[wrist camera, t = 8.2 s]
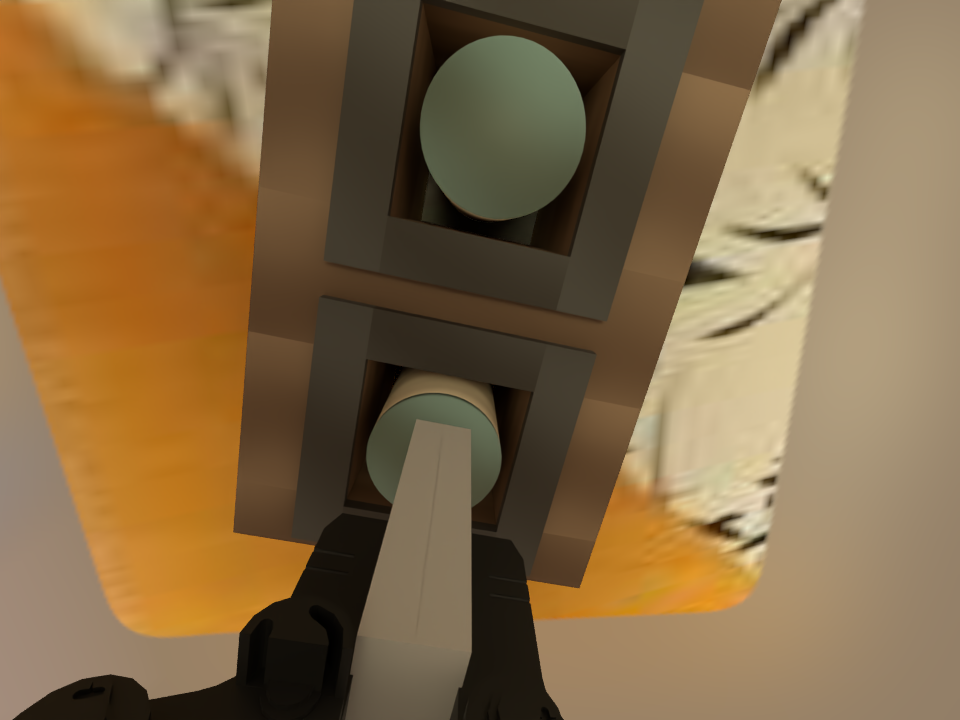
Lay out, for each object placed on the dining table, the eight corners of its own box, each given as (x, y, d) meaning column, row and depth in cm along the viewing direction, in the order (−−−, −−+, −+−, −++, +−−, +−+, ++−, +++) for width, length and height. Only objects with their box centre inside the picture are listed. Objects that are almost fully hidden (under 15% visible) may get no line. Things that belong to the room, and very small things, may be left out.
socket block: (364, 19, 18) (275, -159, 9) (652, 94, 18) (793, -9, 10) (313, 428, 22) (227, 540, 14) (543, 470, 23) (582, 597, 15)
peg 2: (451, 109, 18) (436, 14, 10) (546, 133, 18) (606, 60, 10) (432, 211, 19) (407, 199, 11) (523, 231, 19) (561, 234, 11)
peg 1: (412, 323, 20) (377, 383, 12) (497, 340, 21) (515, 411, 13) (398, 402, 22) (357, 505, 14) (479, 418, 22) (485, 527, 14)
